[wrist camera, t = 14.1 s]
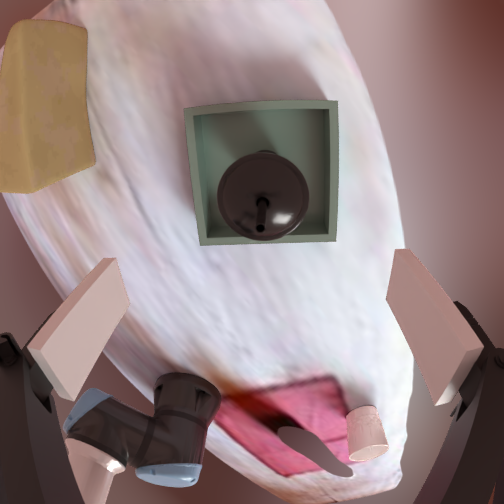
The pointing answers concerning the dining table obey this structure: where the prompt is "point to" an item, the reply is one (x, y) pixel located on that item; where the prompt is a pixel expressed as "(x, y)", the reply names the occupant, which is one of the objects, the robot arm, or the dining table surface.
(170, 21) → the dining table surface
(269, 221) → the drinking cup
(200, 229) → the grey-green shallow box
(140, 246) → the dining table surface
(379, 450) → the white cup
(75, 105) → the cheese
